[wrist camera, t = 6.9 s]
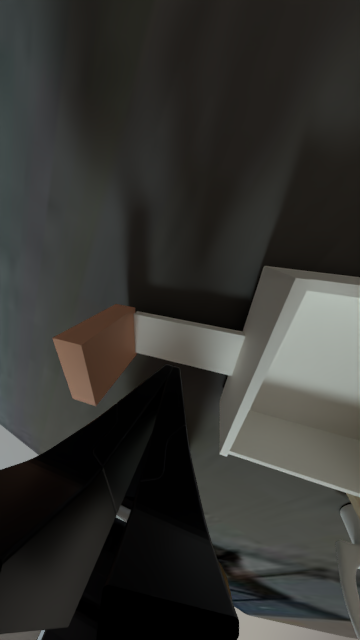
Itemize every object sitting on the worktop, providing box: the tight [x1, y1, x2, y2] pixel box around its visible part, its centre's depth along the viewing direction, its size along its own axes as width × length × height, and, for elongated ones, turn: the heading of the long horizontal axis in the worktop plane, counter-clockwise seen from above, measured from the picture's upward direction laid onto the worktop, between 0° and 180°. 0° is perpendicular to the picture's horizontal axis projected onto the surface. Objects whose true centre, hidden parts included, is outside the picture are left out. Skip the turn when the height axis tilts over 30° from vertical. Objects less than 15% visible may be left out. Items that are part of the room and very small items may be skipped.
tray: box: [53, 266, 360, 497], centre depth 9 cm, size 25×12×6 cm, turn 85°
